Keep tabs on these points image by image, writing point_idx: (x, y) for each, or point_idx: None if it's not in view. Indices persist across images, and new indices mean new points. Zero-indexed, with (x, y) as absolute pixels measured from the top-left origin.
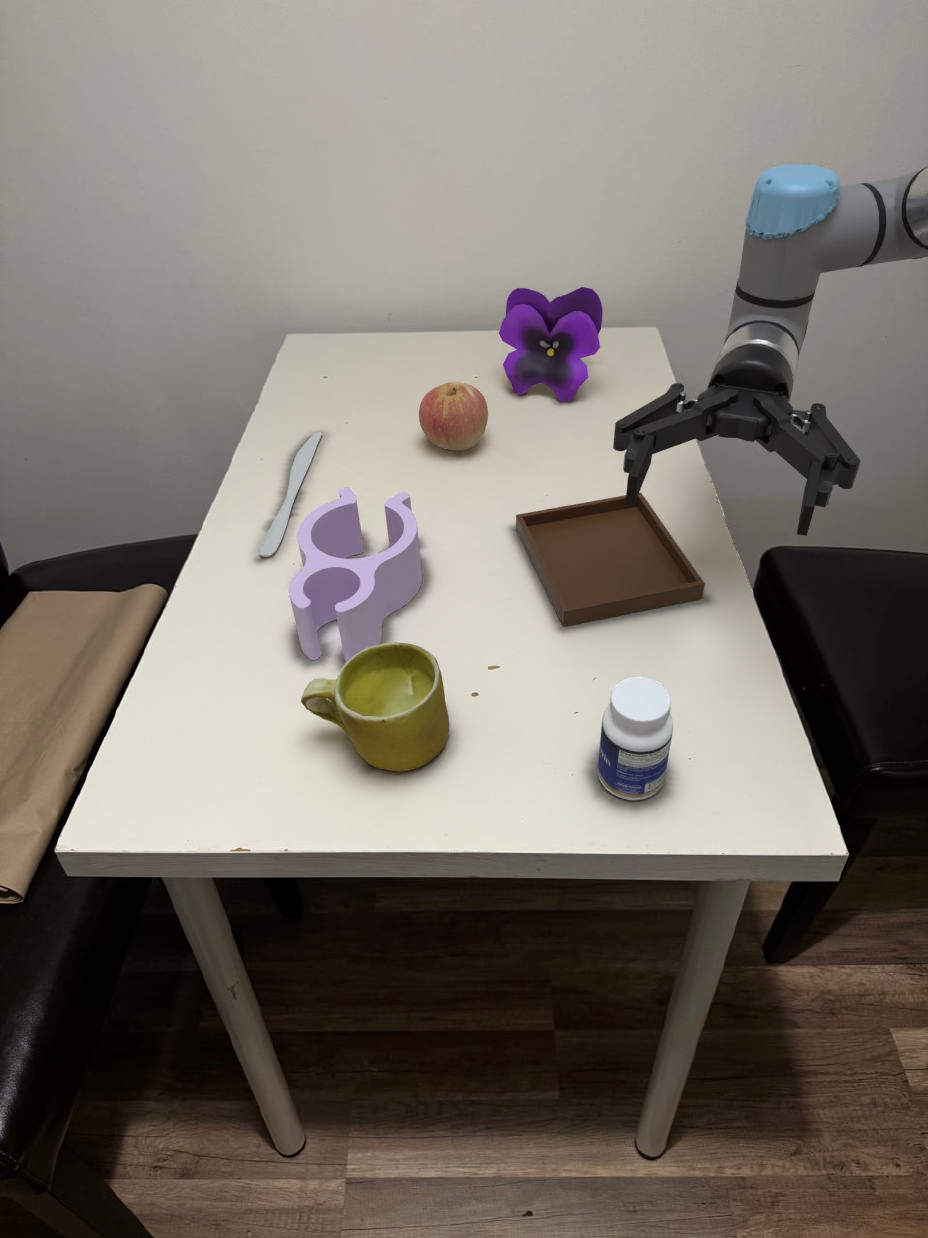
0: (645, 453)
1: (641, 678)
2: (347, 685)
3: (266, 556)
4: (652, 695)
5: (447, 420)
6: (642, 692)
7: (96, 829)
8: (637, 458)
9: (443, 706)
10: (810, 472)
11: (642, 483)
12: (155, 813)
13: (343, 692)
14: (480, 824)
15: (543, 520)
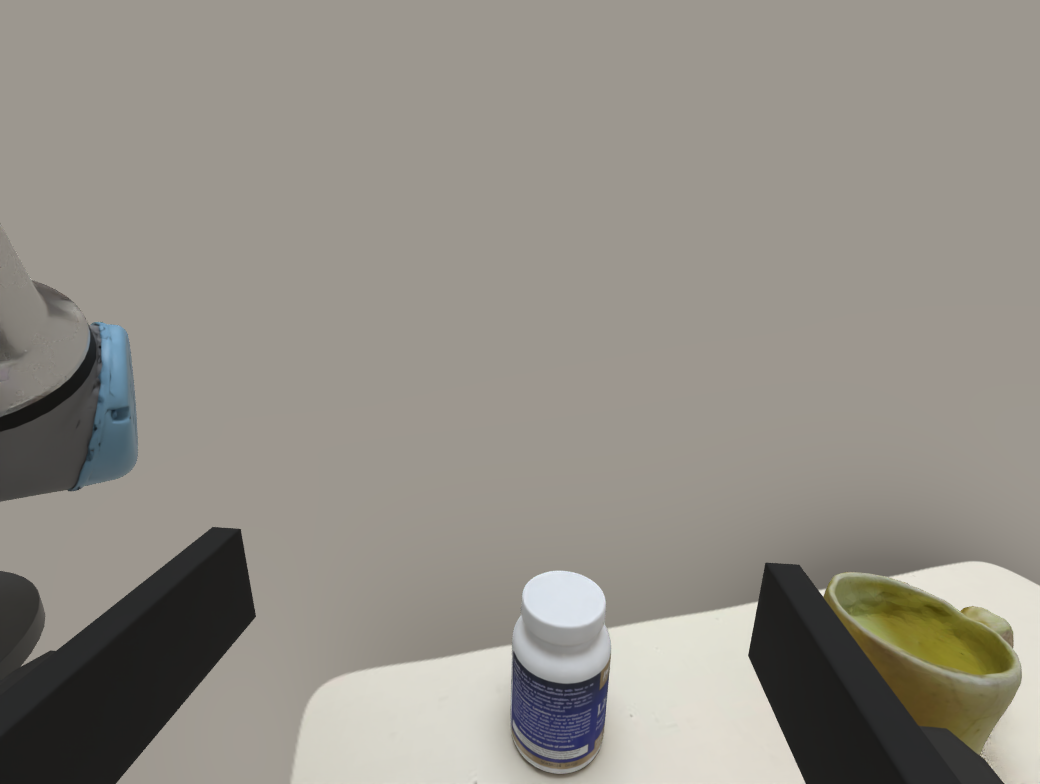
0: (863, 703)
1: (571, 622)
2: (972, 646)
3: None
4: (549, 601)
5: None
6: (564, 604)
7: (991, 570)
8: (859, 659)
9: None
10: (45, 696)
11: (807, 779)
12: (974, 589)
13: (956, 628)
14: (693, 634)
15: None
